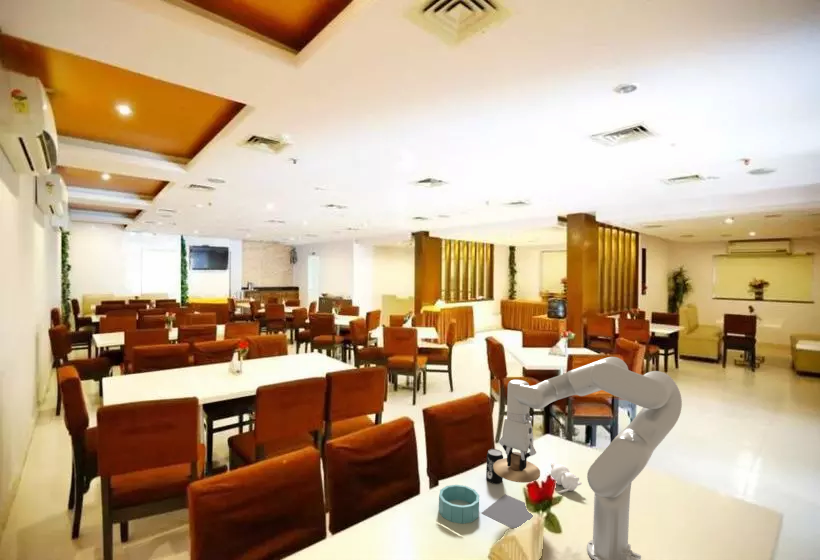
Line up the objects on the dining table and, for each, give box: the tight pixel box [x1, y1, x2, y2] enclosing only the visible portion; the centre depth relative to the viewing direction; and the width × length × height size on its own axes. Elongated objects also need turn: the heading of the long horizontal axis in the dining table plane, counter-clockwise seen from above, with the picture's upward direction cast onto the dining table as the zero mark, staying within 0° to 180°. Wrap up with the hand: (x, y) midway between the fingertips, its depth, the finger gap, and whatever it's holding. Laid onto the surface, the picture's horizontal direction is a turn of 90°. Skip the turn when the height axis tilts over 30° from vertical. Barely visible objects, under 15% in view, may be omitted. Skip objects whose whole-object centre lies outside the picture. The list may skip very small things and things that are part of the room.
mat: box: [481, 493, 533, 529], centre depth 142 cm, size 17×17×1 cm
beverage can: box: [485, 448, 504, 485], centre depth 164 cm, size 7×7×12 cm
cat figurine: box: [550, 463, 582, 494], centre depth 161 cm, size 9×11×12 cm
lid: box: [493, 451, 541, 483], centre depth 141 cm, size 16×16×6 cm
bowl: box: [438, 484, 480, 525], centre depth 142 cm, size 14×14×6 cm
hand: (516, 466), depth 141 cm, fingers closed on lid, 4 cm apart
